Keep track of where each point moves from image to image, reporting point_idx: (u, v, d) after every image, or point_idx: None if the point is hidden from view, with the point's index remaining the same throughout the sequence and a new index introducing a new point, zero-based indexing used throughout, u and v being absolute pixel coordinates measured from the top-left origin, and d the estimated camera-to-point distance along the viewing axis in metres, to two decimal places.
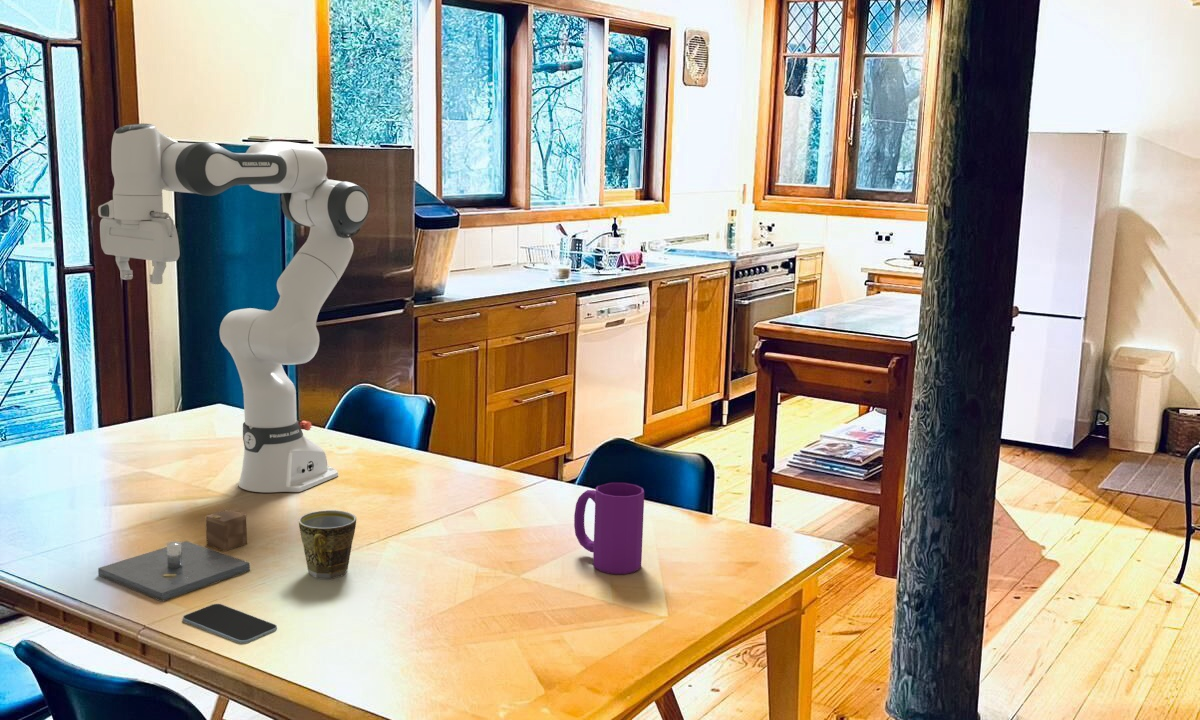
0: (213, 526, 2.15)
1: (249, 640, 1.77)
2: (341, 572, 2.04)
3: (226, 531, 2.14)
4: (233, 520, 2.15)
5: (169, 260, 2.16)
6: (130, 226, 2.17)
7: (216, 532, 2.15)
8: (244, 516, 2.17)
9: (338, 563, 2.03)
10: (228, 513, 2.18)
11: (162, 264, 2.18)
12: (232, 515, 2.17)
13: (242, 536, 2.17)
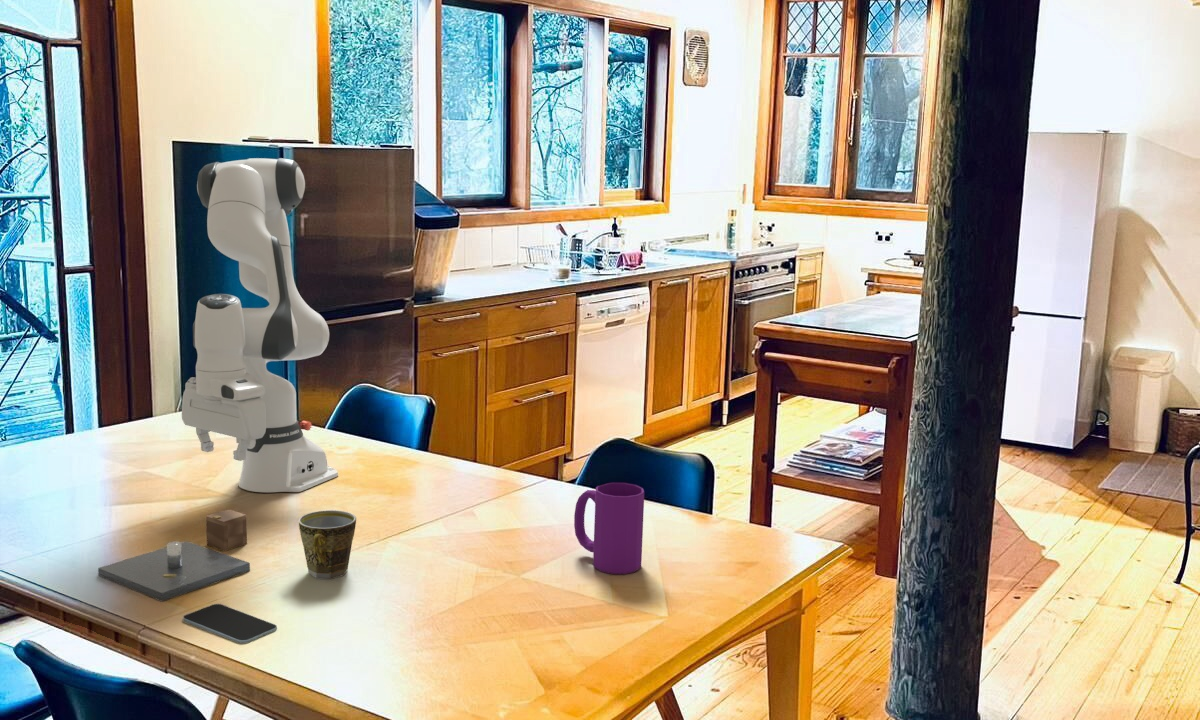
0: (213, 526, 2.15)
1: (249, 640, 1.77)
2: (341, 572, 2.04)
3: (226, 531, 2.14)
4: (233, 520, 2.15)
5: None
6: None
7: (216, 532, 2.15)
8: (244, 516, 2.17)
9: (338, 563, 2.03)
10: (228, 513, 2.18)
11: None
12: (232, 515, 2.17)
13: (242, 536, 2.17)
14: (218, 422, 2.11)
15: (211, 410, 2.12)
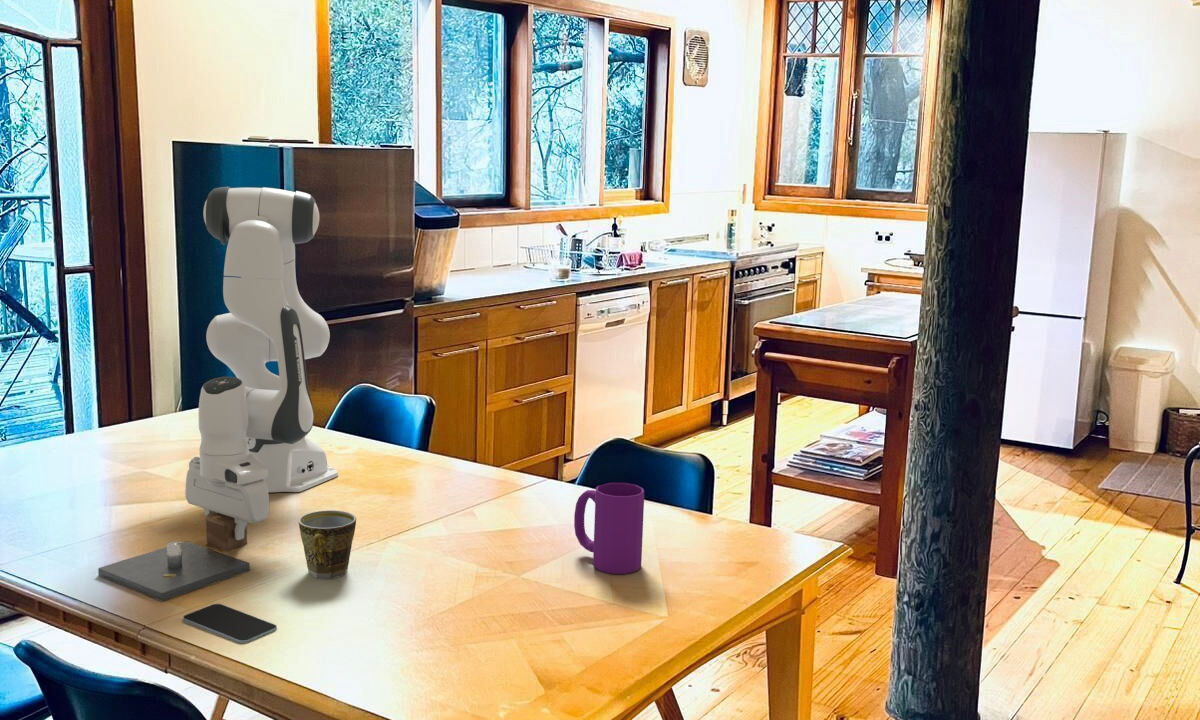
0: (213, 526, 2.15)
1: (249, 640, 1.77)
2: (341, 572, 2.04)
3: (226, 531, 2.14)
4: (233, 520, 2.15)
5: None
6: None
7: (216, 532, 2.15)
8: None
9: (338, 563, 2.03)
10: None
11: None
12: None
13: None
14: (222, 503, 2.14)
15: (214, 491, 2.15)
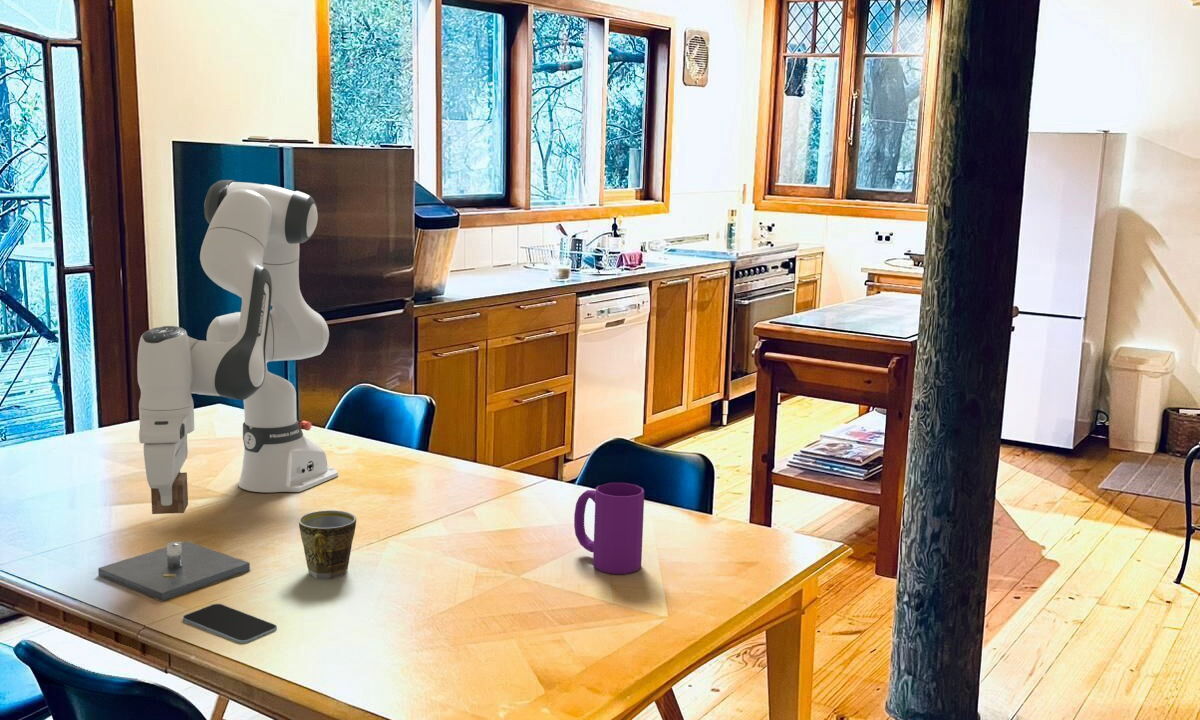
0: None
1: (249, 640, 1.77)
2: (341, 572, 2.04)
3: (154, 493, 1.97)
4: None
5: None
6: None
7: None
8: (180, 481, 1.98)
9: (338, 563, 2.03)
10: None
11: None
12: None
13: (177, 503, 1.98)
14: None
15: None
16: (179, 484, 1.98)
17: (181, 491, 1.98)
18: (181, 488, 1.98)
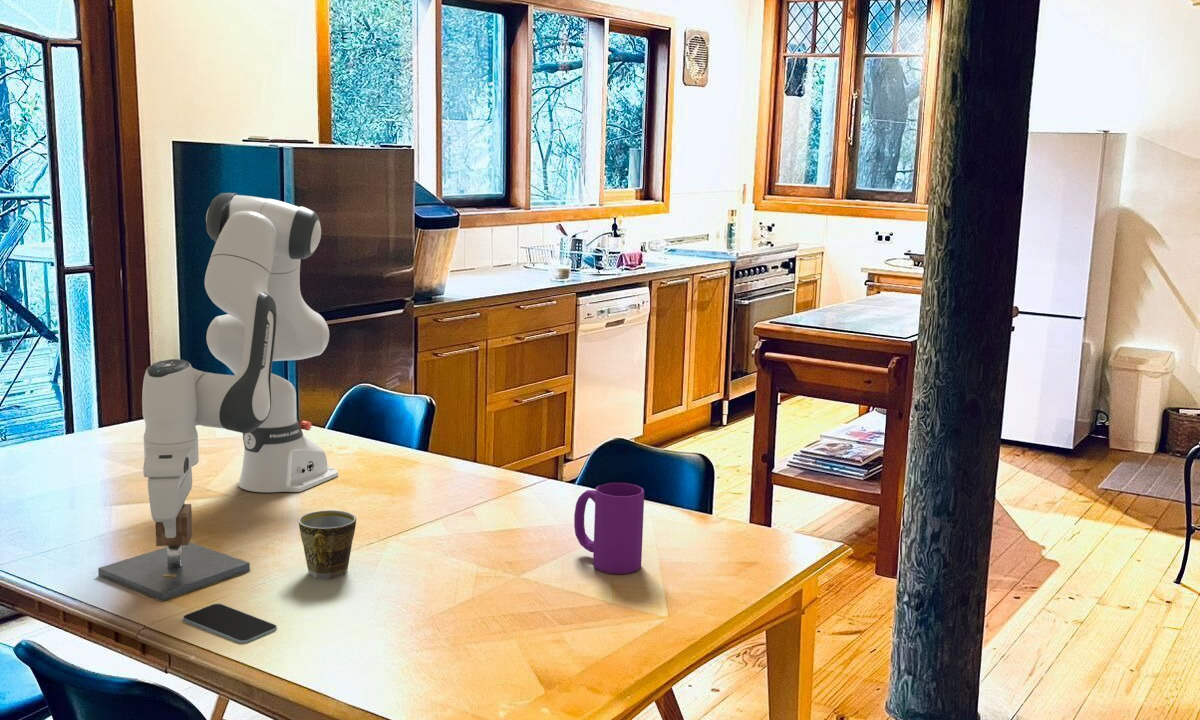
0: None
1: (249, 640, 1.77)
2: (341, 572, 2.04)
3: (159, 525, 1.98)
4: None
5: None
6: None
7: None
8: (184, 514, 1.99)
9: (338, 563, 2.03)
10: None
11: None
12: None
13: (181, 535, 1.99)
14: None
15: None
16: (183, 516, 1.99)
17: (185, 523, 1.99)
18: (185, 520, 1.99)
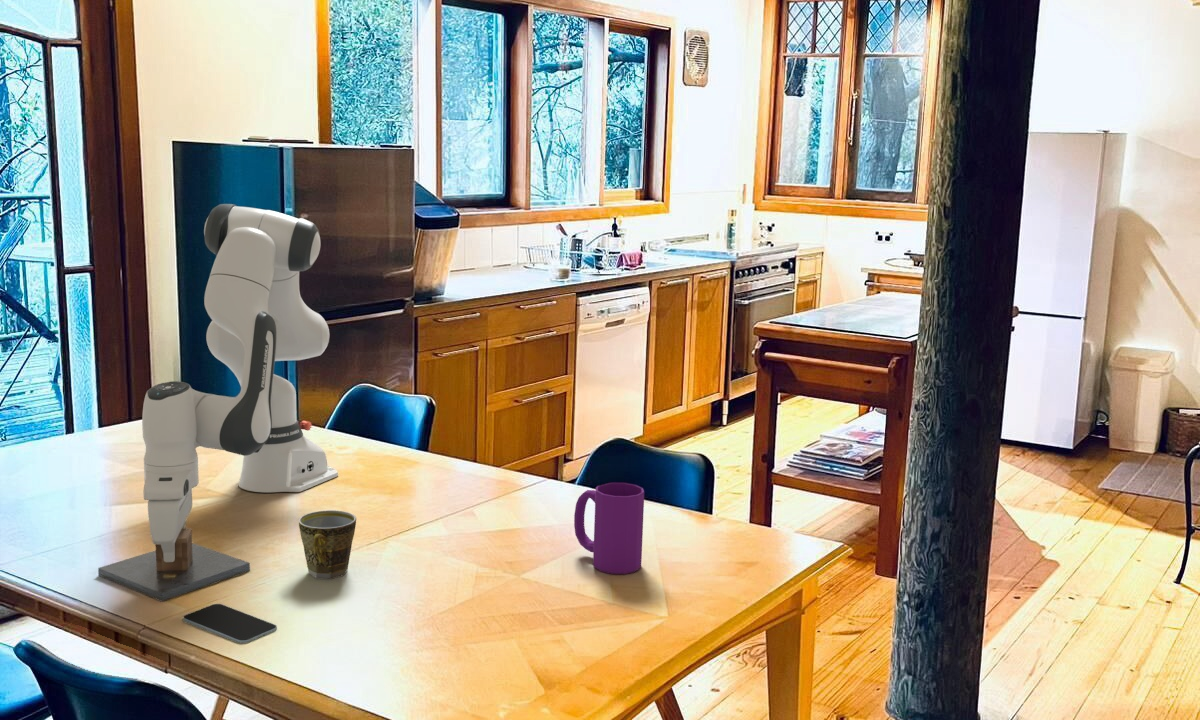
0: None
1: (249, 640, 1.77)
2: (341, 572, 2.04)
3: (159, 550, 1.99)
4: None
5: None
6: None
7: None
8: (184, 539, 2.00)
9: (338, 563, 2.03)
10: None
11: None
12: None
13: (181, 560, 2.00)
14: None
15: None
16: (183, 542, 2.00)
17: (185, 548, 2.00)
18: (185, 546, 2.00)
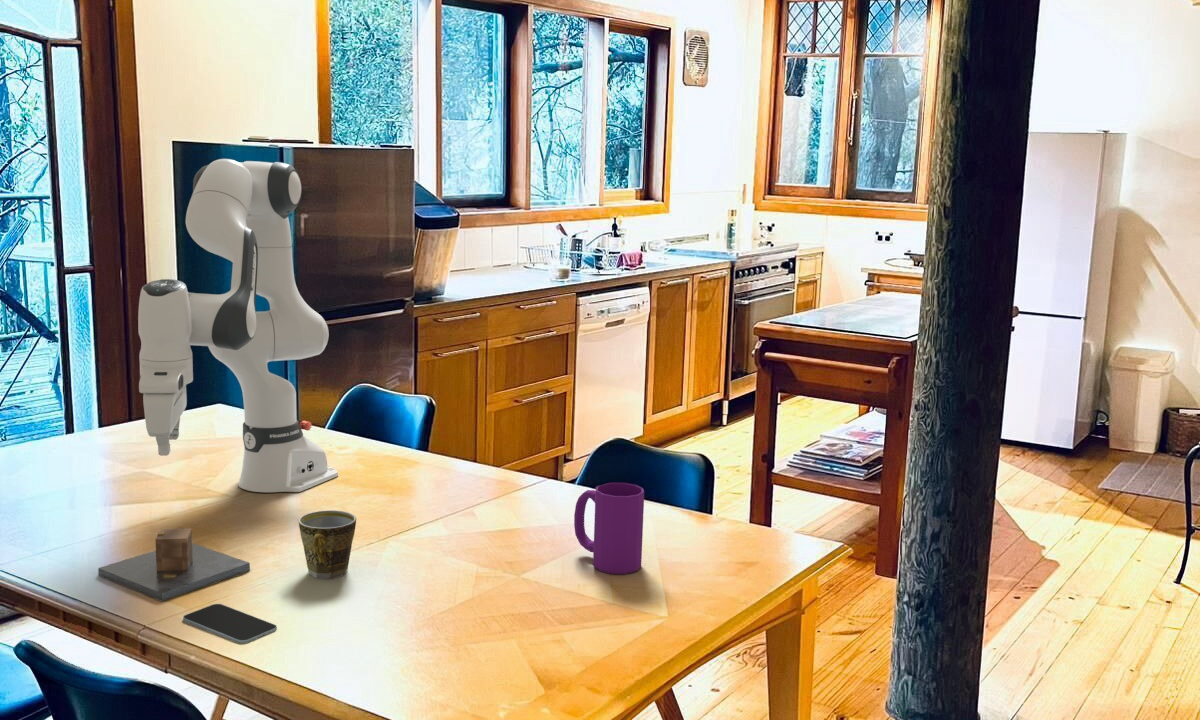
0: None
1: (249, 640, 1.77)
2: (341, 572, 2.04)
3: (159, 550, 1.99)
4: (168, 540, 1.99)
5: None
6: None
7: None
8: (184, 539, 2.00)
9: (338, 563, 2.03)
10: (179, 532, 2.02)
11: None
12: (177, 535, 2.01)
13: (181, 560, 2.00)
14: None
15: None
16: (183, 542, 2.00)
17: (185, 548, 2.00)
18: (185, 546, 2.00)
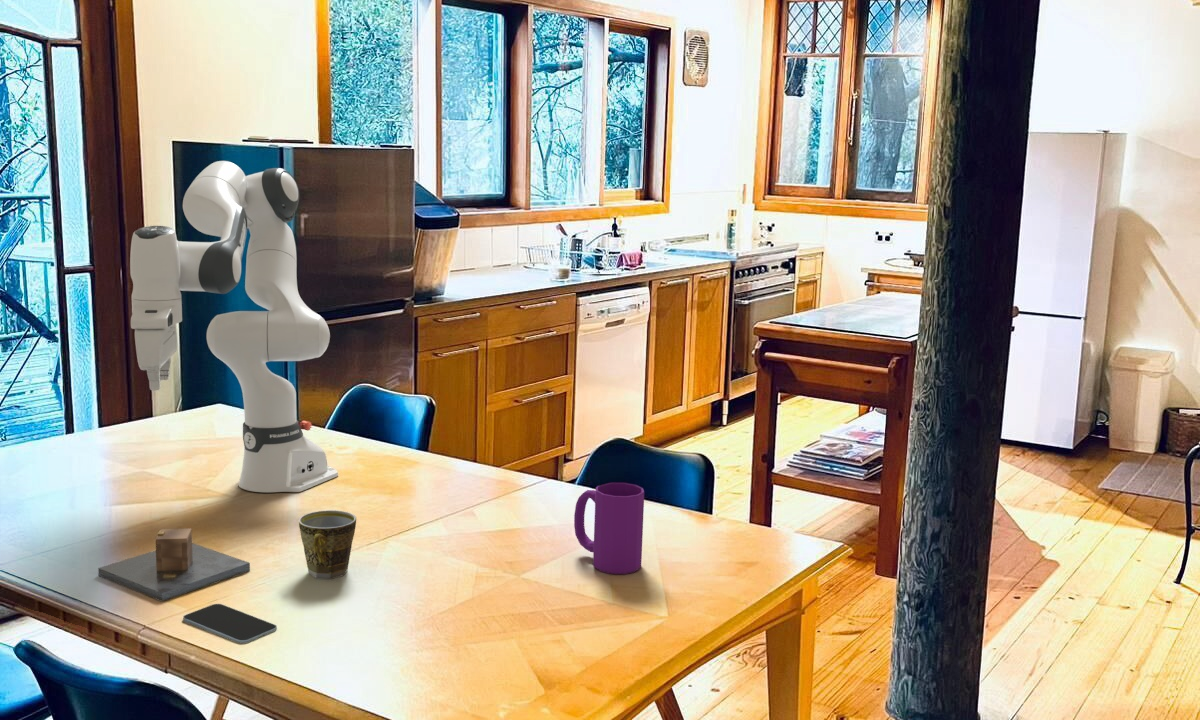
0: None
1: (249, 640, 1.77)
2: (341, 572, 2.04)
3: (159, 550, 1.99)
4: (168, 540, 1.99)
5: None
6: None
7: None
8: (184, 539, 2.00)
9: (338, 563, 2.03)
10: (179, 532, 2.02)
11: None
12: (177, 535, 2.01)
13: (181, 560, 2.00)
14: None
15: None
16: (183, 542, 2.00)
17: (185, 548, 2.00)
18: (185, 546, 2.00)
